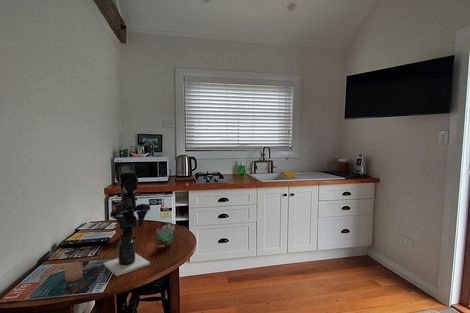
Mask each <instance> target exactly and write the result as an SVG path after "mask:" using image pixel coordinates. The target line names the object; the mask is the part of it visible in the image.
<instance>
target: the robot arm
mask: <svg viewBox="0 0 470 313" xmlns="http://www.w3.org/2000/svg"><path fill="white" fill-rule="evenodd" d="M115 181H116V184H117V186H118V187H119V189H120V197H121V200H120V202H119V203H116V204H114V208H115V210H112V211H111V212H110V214H109V216H110V218H112V219H115V221H117V224H118V229H119V230H120V229H121V235H122V234H125V233H131V234H132V239H134V238H135V239H136V236H135V235H134V229H133V228H136V227H137V225H138V227H139V228H142V225H143V222H144V220H145V219H146V218H145V217H146V215H147V213H149V211H151V205H150V204H149V203H148V204H147V203H142V204H137V201H138V197H136V191H137V188H138V182H139V177H138V176H137V174H136V172H135V171H132V170H131V169H130V166H129V165H121V166H119V168H118V169H117V170H116V171H115ZM135 212H136V214H137V217H136V215H135ZM137 222H138V224H137ZM118 238H119V239H120V236H119V237H118Z"/></svg>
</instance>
